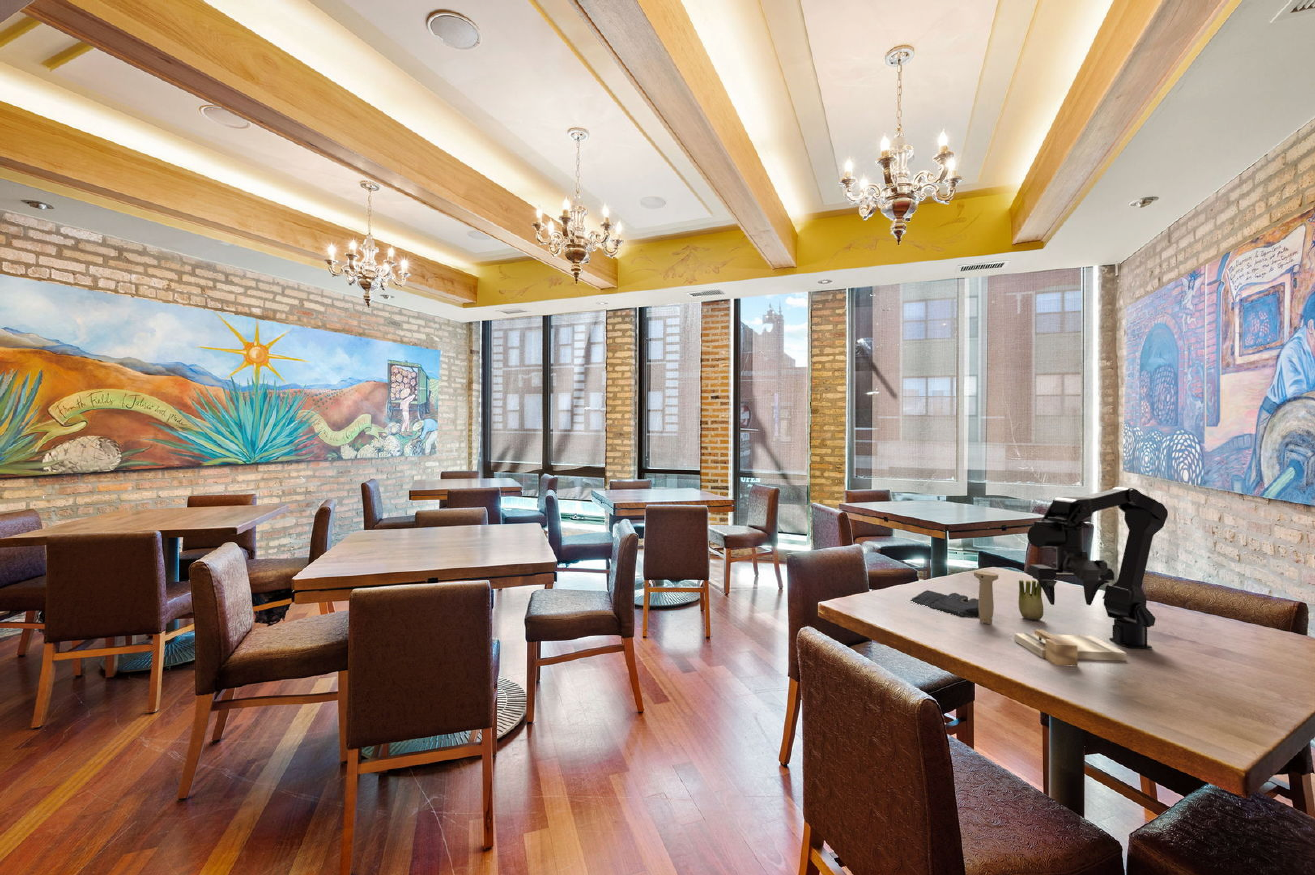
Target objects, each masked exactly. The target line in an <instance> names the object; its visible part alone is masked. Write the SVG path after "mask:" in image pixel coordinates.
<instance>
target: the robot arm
mask: <svg viewBox="0 0 1315 875" xmlns="http://www.w3.org/2000/svg"><path fill="white" fill-rule="evenodd" d="M1114 507H1117V508H1118V509H1119V510H1120V511H1121V512H1123V513H1124V518H1123V519H1124V522H1125V524H1126V526H1127V528H1128V534H1127V538H1126V543H1125V547H1124V552H1123V556H1122V560H1121V563H1120V564H1121V565H1120V568H1119V574H1118V576H1117V581H1116V582H1114V583H1113V584H1112V585H1111V584H1109V583H1110V581H1114V580H1115V572H1114V571H1113V569H1112V568H1109V567H1108V563H1107V562H1106V561H1105V560H1104V559H1096V560H1090V559H1089V556H1088V552H1087V551H1086V550H1084V531H1083V530H1085V529H1086V530H1087V529H1088V530H1089V529H1090V528H1091V527H1090V525H1089V524H1087V523H1086V522H1085V521H1084V520H1087V519H1089V518H1091V517H1092V516H1093V514H1094V513H1095V512H1099V511H1102V510H1106V509H1109V508H1114ZM1168 515H1169V511H1168V509H1167V508H1166V507H1165V505H1164V504H1163V502H1162V503H1161V502H1159V501H1158V500H1156V499H1154V498H1152V497H1150V496H1148V495H1146V494H1144V493H1142V492H1140V491H1139V490H1138V489H1136V488H1134V487H1127V486H1116V487H1113V488H1111V489H1107V490H1104V491H1099V492H1095V493H1092V494H1088V495H1084V496H1063V497H1062V496H1061V497H1060V496H1059V497H1056V498H1054V499H1053V500H1052V501H1051V504H1050V505H1049V507H1048V509H1047V510H1046V512H1045V514H1044V516H1043V517H1042V519H1041V520H1040V521H1039V520H1034V521H1033V525H1032V526H1030V527H1029V529H1028V530H1027V533H1026V534H1027V535H1026V537H1027V539H1028V542H1029V543H1030V545H1031V546H1032V547H1035V548H1052V552H1055V562H1052V566H1053V567H1050V566H1048V565H1044V564H1029V565H1028V567H1027V569H1026V572H1027V573H1026V574H1027V576H1030V577H1031V578H1032V579H1034V580H1036V582H1039V584H1040V585H1041V587H1042V590H1043V591H1042V592H1043V593H1044V595H1045V596H1046V598H1047V600H1048V602H1049V604H1050V605H1051V606H1055V601H1056V600H1055V599H1056V596H1055V586H1056V585H1057V583H1058V581H1057V580H1055V579H1056V578H1057V577H1058V576H1062V577H1063V576H1064V577H1066V576H1068V577H1069V576H1071V577H1072V576H1073V577H1076V578H1077V579H1078V580H1081V581H1082V586H1083V591H1084V599H1085V600H1084V601H1085V604H1086V605H1088V606H1092V604H1093V602H1094V599H1095V597H1096V594H1097V592H1098V591H1099V589H1100V587H1101V586H1103V585H1105V584H1107V585H1105V588H1104V589H1105V590H1104V594H1103V596H1102V599H1103V606H1104V608H1105V610H1106V614H1107V617H1108V618H1112V619H1113V624H1112V637H1109V640H1110V641H1112V642H1113V643H1116V644H1119V645H1121V646H1122V647H1125V648H1127V649H1128V648H1129V649H1149V648H1150V649H1153V646H1152V645H1149V644H1148V628H1151V627H1154V626H1155V623H1156V619H1157V618H1156V617H1155V616H1154V615H1153V614H1152V612H1151V611H1150V610H1149V609H1148V608H1147V602H1148V601H1147V600H1148V599H1147V597H1146V594H1145V592H1144V590H1143V588H1142V587H1143V581H1144V577H1145V573H1146V568H1147V564H1148V561H1149V560H1148V559H1149V555H1150V551H1151V547H1152V543H1153V538H1154V536H1155V535H1156V534H1157V533H1158V532H1160V530H1162V528H1164V525H1165V523H1166V521H1167V518H1168ZM1150 649H1149V650H1150Z"/></svg>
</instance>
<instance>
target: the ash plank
mask: <svg viewBox="0 0 1315 875" xmlns="http://www.w3.org/2000/svg"><path fill="white" fill-rule="evenodd" d="M1052 635H1053V636H1055V637H1057V638H1058V639H1062V640H1068V641H1070V642H1072V643H1074V644H1075V645H1077V660H1098V661H1125V662H1126V661H1127V653H1126V652H1125V651H1123V650H1121V649H1119V648H1117V647H1115V646H1113V645H1111V644H1109V643H1107V642H1105V641H1103V640H1101V639H1099V638H1097V637H1095V636H1093V635H1081V634H1078V635H1076V634H1074V635H1073V634H1052ZM1014 642H1016V643H1018V644H1019V645H1021V646H1023V647H1024V648H1025V649H1027V650H1029V651H1030V652H1031V653H1033V654H1035V655H1037V656H1038V657H1040V658H1042V659H1046V642H1045V640H1044V639H1042V641H1040V640H1039V636H1037V635H1035V633H1027V632H1024V633H1017V632H1016V633H1014Z"/></svg>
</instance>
